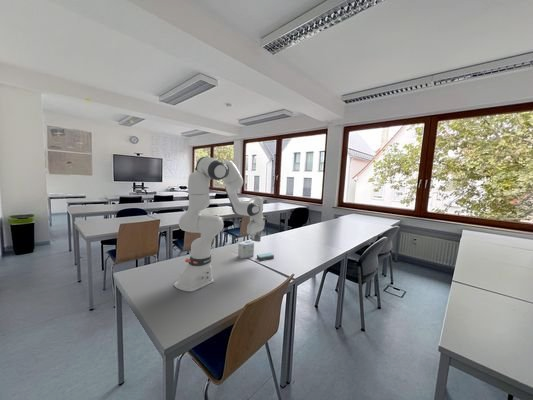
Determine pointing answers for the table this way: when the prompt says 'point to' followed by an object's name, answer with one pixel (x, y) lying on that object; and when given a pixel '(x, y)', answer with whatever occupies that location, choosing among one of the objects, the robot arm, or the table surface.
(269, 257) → the eraser
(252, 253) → the light bulb box
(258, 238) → the dongle
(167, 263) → the table surface
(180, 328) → the table surface
